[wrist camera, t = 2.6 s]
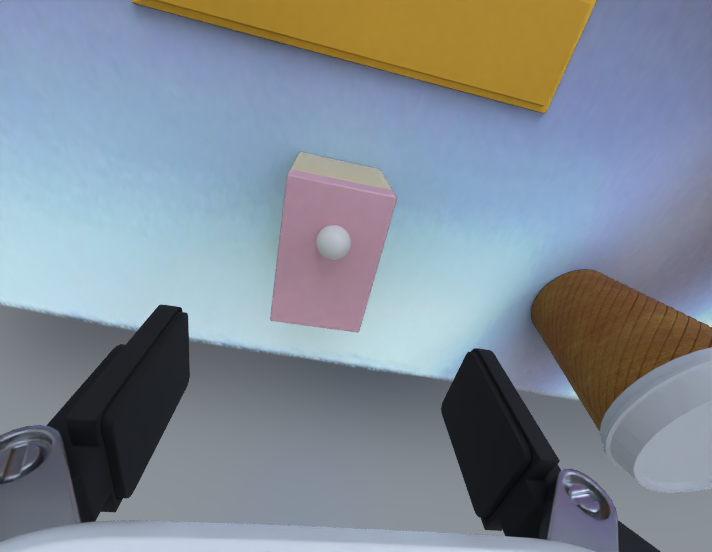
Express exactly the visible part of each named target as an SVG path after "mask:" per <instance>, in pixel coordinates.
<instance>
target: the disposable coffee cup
mask: <svg viewBox="0 0 712 552" xmlns="http://www.w3.org/2000/svg"><path fill="white" fill-rule="evenodd" d="M531 319H532V322H533V324H534V325H535V327H536V328H537V330H538V332H539V333H540V335H541V337H542V338H543V340H544V342H545V343H546V345H547V346H548V348H549V350H550V351H551V353H552V355H553V356H554V358H555V360H556V361H557V363H558V364H559V366H560V368H561V369H562V371H563V373H564V374H565V376H566V377H567V379H568V381H569V383H570V384H571V386H572V387H573V389H574V391H575V392H576V394H577V396H578V397H579V399H580V400H581V402H582V404H583V405H584V407H585V408H586V410H587V412H588V413H589V415H590V417H591V418H592V420H593V421H594V423H595V425H596V427H597V428H598V430H599V431H600V436H601V440H602V443H603V444H604V451H605V453H606V455H607V457H608V459H609V460H610V461H611V463H612V464H613V465H615V466H616V467H617V468H619V469H621V470H624V471H626V472H628V473H629V474H630V475H631V476H632V477H633V478H634V479H635V480H636V481H637V482H638V483H640V484H641V485H642V486H644V487H645V488H648V489H650V490H653V491H657V492H664V493H682V492H691V491H699V490H705V489H709V488H712V327H710V326H708V325H707V324H704V323H702V322H700V321H697V320H696V319H694V318H692V317H690V316H686V315H685V314H684V313H682V312H679V311H676V310H675V309H674V308H672V307H669V306H667V305H666V306H665V304H664V303H661V302H659V301H656V300H655V299H653V298H650V297H648V296H646V295H645V294H643V293H640V292H638V291H636V290H634V289H632V288H630V287H628V286H626V285H624V284H622V283H620V282H618V281H614V279H612V278H609V277H608V276H606V275H604V274H602V273H600V272H597V271H594V270H586V269H585V270H576V271H572V272H568V273H566V274H564V275H561V276H559V277H558V278H556V279H554V280H553V281H551V282H550V283H549V284H547V285H546V286H545V287H544V288H543V289H542V290H541V291H540V293H539V294H538V296H537V297H536V299H535V300H534V303H533V305H532V309H531Z"/></svg>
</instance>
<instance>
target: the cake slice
mask: <svg viewBox="0 0 712 552" xmlns="http://www.w3.org/2000/svg"><path fill="white" fill-rule="evenodd" d="M396 200H397V196H396V195H395V193H394V191H393V190H392V188H391V186H390V185H389V183H388V181H387V180H386V178H385V176H384V175H383V173H382V171H381V170H380V169H377V168H372V167H368V166H363V165H358V164H354V163H349V162H345V161H340V160H336V159H331V158H326V157H322V156H317V155H313V154H308V153H303V152H299V154H298V156H297V158H296V160H295V162H294V164H293V166H292V167H291V169H290V171H289V173H288V175H287V180H286V188H285V197H284V205H283V214H282V223H281V231H280V240H279V248H278V257H277V265H276V274H275V283H274V291H273V300H272V308H271V317H270V320H271V321H277V322H285V323H292V324H300V325H307V326H314V327H322V328H329V329H337V330H344V331H352V332H359V330H360V327H361V323H362V320H363V316H364V313H365V309H366V306H367V302H368V299H369V295H370V292H371V288H372V285H373V281H374V278H375V274H376V271H377V267H378V264H379V260H380V257H381V253H382V250H383V246H384V243H385V239H386V236H387V232H388V228H389V225H390V221H391V218H392V214H393V211H394V207H395V204H396Z"/></svg>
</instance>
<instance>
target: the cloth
mask: <svg viewBox="0 0 712 552" xmlns="http://www.w3.org/2000/svg"><path fill="white" fill-rule="evenodd" d="M596 1H597V0H131V2H133V3H135V4H139V5H142V6H146V7H150V8H154V9H157V10H161V11H165V12H168V13H172V14H176V15H180V16H183V17H187V18H191V19H194V20H198V21H202V22H206V23H209V24H213V25H217V26H221V27H224V28H228V29H232V30H235V31H239V32H243V33H247V34H250V35H254V36H258V37H261V38H265V39H269V40H273V41H276V42H280V43H284V44H288V45H291V46H295V47H299V48H302V49H306V50H310V51H314V52H317V53H321V54H325V55H328V56H332V57H336V58H340V59H343V60H347V61H351V62H355V63H358V64H362V65H366V66H369V67H373V68H377V69H381V70H384V71H388V72H392V73H395V74H399V75H403V76H407V77H410V78H414V79H418V80H422V81H425V82H429V83H433V84H436V85H440V86H444V87H448V88H451V89H455V90H459V91H462V92H466V93H470V94H474V95H477V96H481V97H485V98H489V99H492V100H496V101H500V102H503V103H507V104H511V105H515V106H518V107H522V108H526V109H529V110H533V111H537V112H541V113H546V112H547V110H548V107H549V105H550V103H551V101H552V98H553V96H554V94H555V92H556V90H557V87H558V85H559V83H560V81H561V78H562V76H563V74H564V72H565V70H566V67H567V65H568V63H569V61H570V58H571V56H572V54H573V52H574V50H575V47H576V45H577V43H578V41H579V38H580V36H581V34H582V32H583V30H584V27H585V25H586V23H587V21H588V18H589V16H590V14H591V12H592V10H593V7H594V5H595V3H596Z"/></svg>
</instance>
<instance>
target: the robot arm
mask: <svg viewBox="0 0 712 552" xmlns="http://www.w3.org/2000/svg"><path fill="white" fill-rule="evenodd" d="M189 373H190V372H189V333H188V314H187V313H184V312H182V308H181V307H175V306H168V305H159V306H158V307H157V308H156V309H155V311H154V312H153V313H152V314H151V315H150V317H149V318H148V319H147V320H146V321H145V323H144V324H143V325H142V326H141V327H140V328H139V330H138V331H137V332H136V333H135V335H134V336H133V337H132V338H131V339H130V340H129V342H128V343H127V344H126V345H123V344H120V345H118V346H116V347H115V348H114V349H113V350H112V351H111V352H110V353H109V355H108V356H107V357H106V358H105V359H104V360H103V361H102V363H101V364H100V365H99V366H98V367H97V368H96V370H95V371H94V372H93V373H92V374H91V375H90V377H88V379H87V380H86V381H85V382H84V383H83V384H82V385H81V387H80V388H79V389H78V390H77V391H76V392H75V394H74V395H73V396H72V397H71V398H70V399H69V401H68V402H67V403H66V404H65V405H64V406H63V407H62V408H61V410H60V411H59V412H58V413H57V414H56V415H55V416H54V418H53V419H52V420H51V421H50V422H49V423H48V425H47V426H43V425H35V426H26V427H23V428H19V429H15V430H12V431H10V432H7V433H5V434H3V435H0V552H660V551H659V550H658V549H656V548H655V547H654V546H652V545H651V544H649V543H648V542H647V541H645V540H644V539H643V538H641V537H640V536H639V535H637V534H636V533H635V532H633V531H632V530H630V529H629V528H627V527H626V526H625V525H624V524H622V523H621V522H620V521H618V517H617V512H616V508H615V506H614V504H613V502H612V500H611V499H610V497H609V496H608V495H607V493H606V492H605V491H604V490H603V489H602V488H601V487H600V486H599V485H598V484H597V483H596V482H595V481H594V480H592V479H591V478H590V477H588V476H587V475H585V474H583V473H581V472H579V471H577V470H573V469H564V470H562V471H561V469H560V468H559V466H558V463H559V459H558V457H557V456H556V454H555V453H554V451H553V449H552V448H551V446H550V444H549V443H548V441H547V439H546V438H545V436H544V435H543V433H542V431H541V430H540V428H539V427H538V425H537V423H536V422H535V420H534V418H533V417H532V415H531V413H530V412H529V410H528V408H527V407H526V405H525V404H524V402H523V400H522V399H521V397H520V395H519V394H518V392H517V391H516V389H515V387H514V386H513V384H512V382H511V381H510V379H509V378H508V376H507V374H506V373H505V371H504V369H503V368H502V366H501V365H500V363H499V361H498V360H497V358H496V356H495V355H494V353H493V352H492V351H490V350H484V349H476V348H475V349H473V350H472V351H471V352H468V353H467V354H466V356H465V358H464V360H463V362H462V364H461V366H460V368H459V370H458V372H457V374H456V376H455V378H454V380H453V382H452V384H451V386H450V389H449V391H448V392H447V394H446V397H445V399H444V401H443V403H442V407H441V410H442V415H443V418H444V422H445V424H446V427H447V430H448V433H449V436H450V439H451V442H452V445H453V448H454V451H455V454H456V457H457V460H458V463H459V466H460V469H461V472H462V475H463V478H464V481H465V484H466V487H467V490H468V493H469V496H470V499H471V502H472V505H473V508H474V511H475V513H476V514H477V516H478V517H481V520H482V523H483V526H484V528H485V530H498V531H501V530H503V531H504V534H505V536H494V535H478V534H459V533H440V532H421V531H401V530H379V529H358V528H357V529H356V528H336V527H314V526H290V525H264V524H240V523H215V522H181V521H180V522H179V521H135V520H133V521H132V520H131V521H96V519H97V517H98V515H99V513H100V512H116V511H117V509H118V507H119V505H120V503H121V501H122V499H123V498H129V497H130V496H131V495H132V493H133V491H134V490H135V488H136V486H137V484H138V482H139V480H140V478H141V476H142V474H143V472H144V470H145V468H146V466H147V464H148V462H149V460H150V458H151V456H152V454H153V452H154V450H155V448H156V446H157V445H158V443H159V440H160V439H161V437H162V435H163V433H164V431H165V429H166V427H167V425H168V423H169V421H170V419H171V417H172V415H173V413H174V411H175V409H176V407H177V405H178V403H179V401H180V399H181V397H182V395H183V393H184V391H185V389H186V387H187V385H188V382H189V377H190V374H189Z"/></svg>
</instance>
